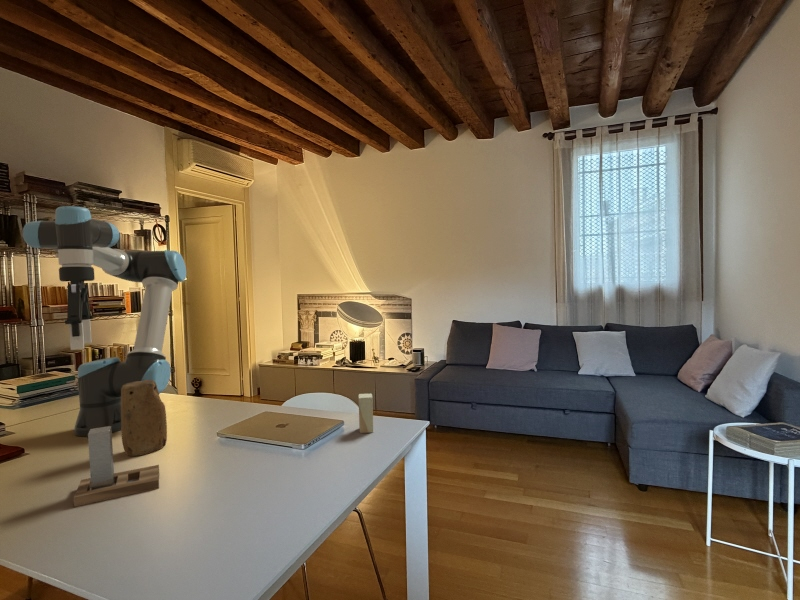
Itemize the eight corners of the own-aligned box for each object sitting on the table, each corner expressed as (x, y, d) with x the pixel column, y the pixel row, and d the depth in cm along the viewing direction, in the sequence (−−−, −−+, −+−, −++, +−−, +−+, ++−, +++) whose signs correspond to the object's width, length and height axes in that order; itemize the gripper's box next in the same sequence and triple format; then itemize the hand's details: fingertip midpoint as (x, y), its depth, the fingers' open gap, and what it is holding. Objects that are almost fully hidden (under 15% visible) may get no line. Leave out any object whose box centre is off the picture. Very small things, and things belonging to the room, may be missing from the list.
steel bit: (94, 488, 102) (90, 429, 101) (114, 484, 104) (111, 425, 103) (91, 495, 98) (87, 434, 98) (112, 491, 100) (109, 430, 100)
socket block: (81, 488, 103) (81, 479, 103) (159, 472, 111) (158, 464, 111) (74, 506, 95) (73, 497, 94) (158, 488, 102) (158, 479, 102)
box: (359, 427, 140) (358, 393, 140) (373, 427, 141) (372, 392, 140) (359, 433, 135) (358, 397, 134) (373, 432, 135) (372, 397, 135)
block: (125, 459, 120) (121, 387, 119) (121, 452, 125) (117, 382, 125) (169, 449, 127) (166, 380, 126) (163, 442, 132) (160, 376, 132)
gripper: (67, 268, 125) (72, 342, 126) (48, 264, 104) (54, 353, 105) (99, 267, 129) (103, 339, 130) (86, 264, 107) (92, 350, 108)
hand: (81, 346), depth 117 cm, fingers open, 13 cm apart
